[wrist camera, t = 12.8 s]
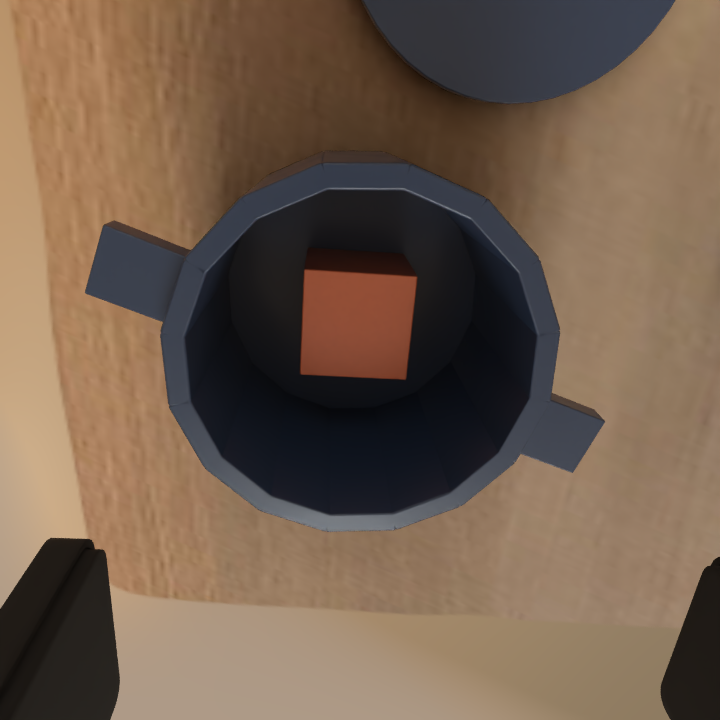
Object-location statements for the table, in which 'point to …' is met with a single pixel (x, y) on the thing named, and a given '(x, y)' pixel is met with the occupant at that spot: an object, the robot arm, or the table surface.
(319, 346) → the block
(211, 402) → the pot
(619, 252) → the table surface
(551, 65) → the lid
